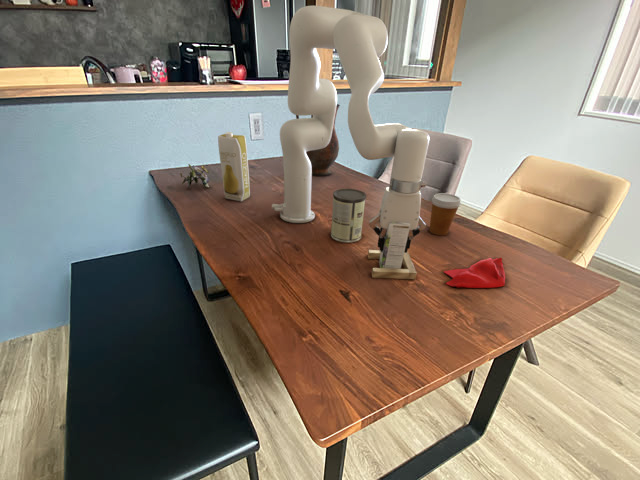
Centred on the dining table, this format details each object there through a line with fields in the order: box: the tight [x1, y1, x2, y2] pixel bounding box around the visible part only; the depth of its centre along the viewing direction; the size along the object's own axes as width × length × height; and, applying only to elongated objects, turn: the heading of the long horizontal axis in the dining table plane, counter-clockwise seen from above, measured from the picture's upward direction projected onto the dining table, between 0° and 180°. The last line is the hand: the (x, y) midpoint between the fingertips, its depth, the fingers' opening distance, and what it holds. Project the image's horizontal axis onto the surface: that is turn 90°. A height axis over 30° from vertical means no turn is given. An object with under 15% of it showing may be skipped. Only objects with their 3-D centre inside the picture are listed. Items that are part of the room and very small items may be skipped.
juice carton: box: [217, 131, 251, 202], centre depth 139 cm, size 9×8×24 cm
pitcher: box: [295, 103, 341, 177], centre depth 168 cm, size 17×21×30 cm
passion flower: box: [179, 163, 210, 189], centre depth 151 cm, size 11×11×12 cm
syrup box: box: [378, 222, 410, 269], centre depth 101 cm, size 6×6×14 cm
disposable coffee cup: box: [428, 192, 462, 236], centre depth 124 cm, size 10×10×12 cm
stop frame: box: [367, 249, 418, 280], centre depth 105 cm, size 12×13×2 cm
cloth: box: [443, 257, 506, 289], centre depth 103 cm, size 26×14×2 cm, turn 120°
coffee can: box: [330, 188, 367, 243], centre depth 117 cm, size 10×10×14 cm
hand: (392, 249), depth 102 cm, fingers closed on syrup box, 6 cm apart
